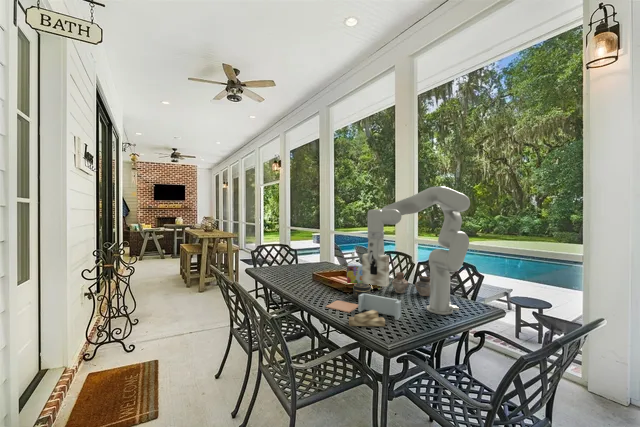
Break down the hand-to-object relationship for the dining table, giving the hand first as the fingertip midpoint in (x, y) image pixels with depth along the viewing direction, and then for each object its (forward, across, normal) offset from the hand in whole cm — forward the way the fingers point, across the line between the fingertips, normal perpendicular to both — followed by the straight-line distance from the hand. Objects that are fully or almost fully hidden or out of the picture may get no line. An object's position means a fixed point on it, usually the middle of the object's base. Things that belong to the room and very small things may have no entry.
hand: (375, 272), depth 145 cm
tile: (+22, +4, +20) cm, 30 cm away
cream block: (+5, 0, 0) cm, 5 cm away
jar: (+22, +23, +18) cm, 37 cm away
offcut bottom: (+22, -10, 0) cm, 24 cm away
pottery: (+23, +49, -3) cm, 54 cm away
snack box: (+22, +42, +26) cm, 55 cm away
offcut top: (+19, -10, 0) cm, 21 cm away
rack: (+22, +6, 0) cm, 22 cm away
